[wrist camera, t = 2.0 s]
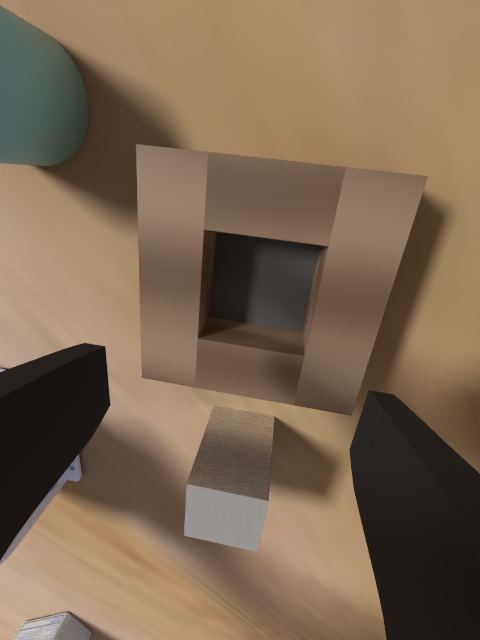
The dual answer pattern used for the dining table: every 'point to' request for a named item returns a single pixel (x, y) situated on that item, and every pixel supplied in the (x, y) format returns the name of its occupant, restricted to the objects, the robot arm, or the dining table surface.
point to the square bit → (231, 479)
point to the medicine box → (54, 629)
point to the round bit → (38, 97)
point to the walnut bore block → (266, 272)
